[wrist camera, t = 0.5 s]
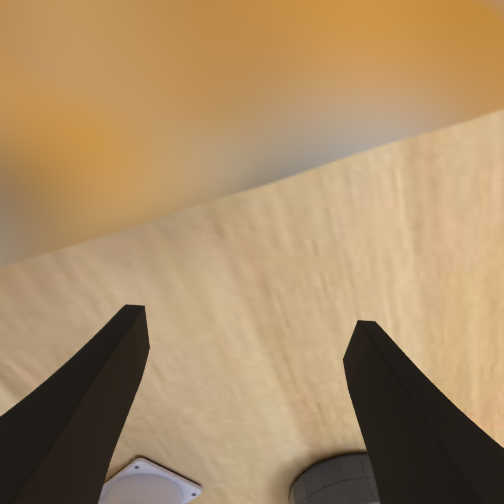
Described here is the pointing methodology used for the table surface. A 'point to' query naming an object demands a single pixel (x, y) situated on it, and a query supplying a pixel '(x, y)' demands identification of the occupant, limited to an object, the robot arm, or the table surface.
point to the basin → (337, 482)
